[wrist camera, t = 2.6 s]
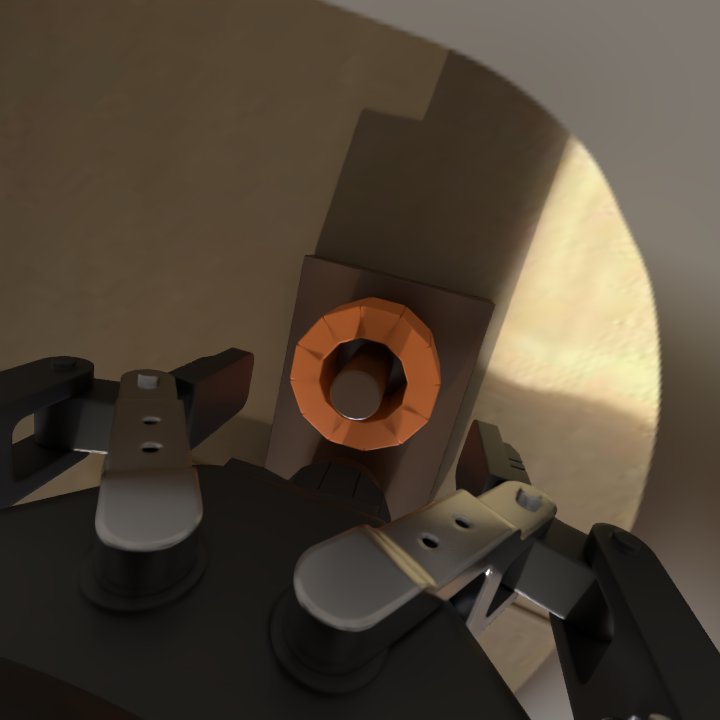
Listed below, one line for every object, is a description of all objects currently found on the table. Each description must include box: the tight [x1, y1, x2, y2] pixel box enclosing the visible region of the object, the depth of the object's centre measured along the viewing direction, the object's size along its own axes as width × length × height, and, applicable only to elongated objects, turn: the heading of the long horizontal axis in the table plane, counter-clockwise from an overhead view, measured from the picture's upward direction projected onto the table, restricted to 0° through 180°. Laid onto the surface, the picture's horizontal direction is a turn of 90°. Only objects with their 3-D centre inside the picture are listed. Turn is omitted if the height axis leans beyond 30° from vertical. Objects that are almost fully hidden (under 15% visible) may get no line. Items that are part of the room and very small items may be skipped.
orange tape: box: [290, 297, 441, 451], centre depth 18 cm, size 6×6×3 cm
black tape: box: [288, 462, 391, 523], centre depth 21 cm, size 6×6×3 cm
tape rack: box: [265, 255, 495, 522], centre depth 20 cm, size 10×17×8 cm, turn 167°
